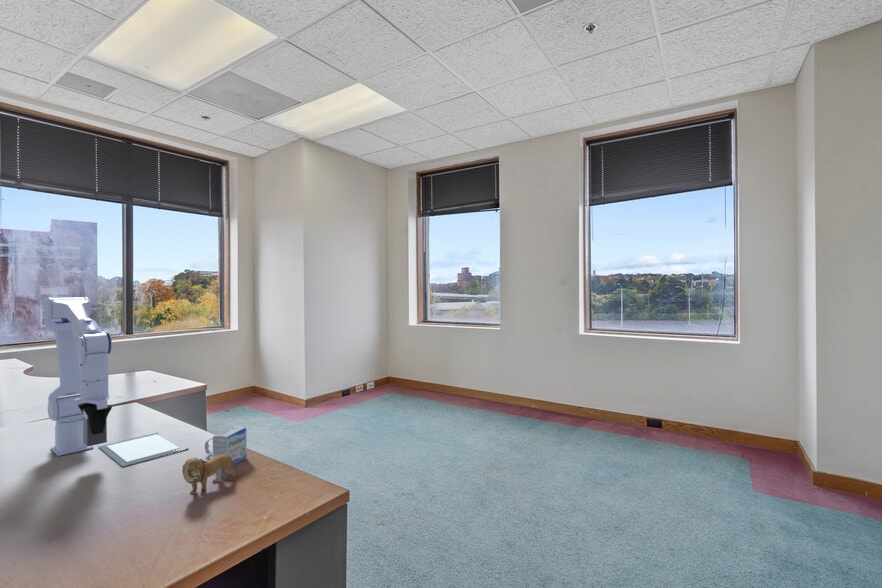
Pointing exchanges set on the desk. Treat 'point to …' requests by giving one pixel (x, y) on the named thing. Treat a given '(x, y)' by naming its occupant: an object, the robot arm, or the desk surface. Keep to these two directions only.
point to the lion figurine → (206, 471)
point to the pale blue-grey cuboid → (89, 437)
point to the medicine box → (231, 444)
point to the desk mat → (139, 449)
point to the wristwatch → (207, 448)
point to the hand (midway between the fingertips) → (95, 431)
